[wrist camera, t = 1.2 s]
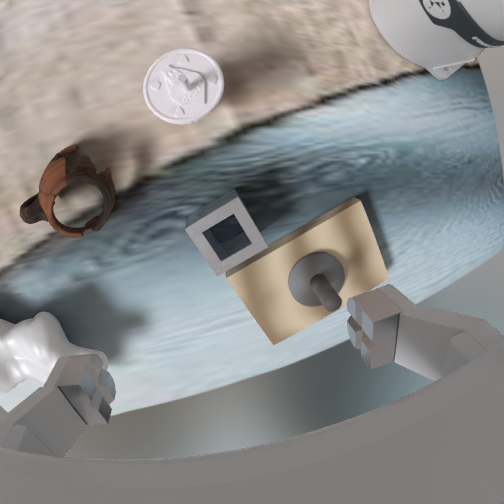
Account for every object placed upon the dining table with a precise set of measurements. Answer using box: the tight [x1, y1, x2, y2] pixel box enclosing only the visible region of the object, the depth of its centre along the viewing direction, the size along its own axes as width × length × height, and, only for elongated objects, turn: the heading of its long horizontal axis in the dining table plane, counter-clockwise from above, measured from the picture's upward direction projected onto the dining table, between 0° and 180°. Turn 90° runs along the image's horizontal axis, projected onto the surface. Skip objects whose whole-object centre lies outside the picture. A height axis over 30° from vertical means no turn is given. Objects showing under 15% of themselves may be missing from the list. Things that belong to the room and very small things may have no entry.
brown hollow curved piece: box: [20, 145, 116, 238], centre depth 28 cm, size 12×10×8 cm
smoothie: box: [143, 48, 224, 124], centre depth 22 cm, size 6×6×14 cm
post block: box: [226, 197, 389, 345], centre depth 34 cm, size 18×12×8 cm, turn 119°
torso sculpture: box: [0, 312, 108, 393], centre depth 32 cm, size 16×11×30 cm
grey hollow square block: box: [185, 188, 268, 276], centre depth 32 cm, size 6×6×5 cm
